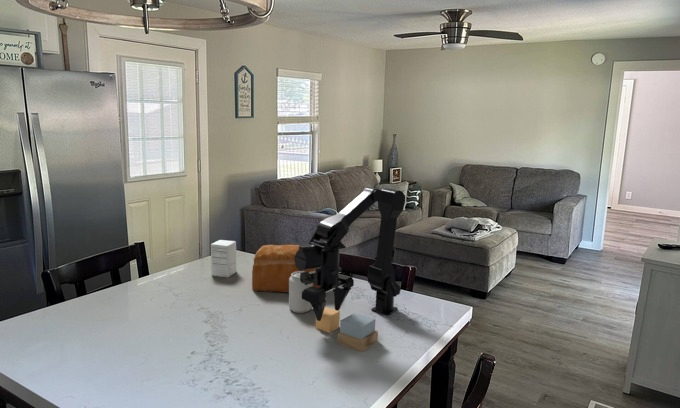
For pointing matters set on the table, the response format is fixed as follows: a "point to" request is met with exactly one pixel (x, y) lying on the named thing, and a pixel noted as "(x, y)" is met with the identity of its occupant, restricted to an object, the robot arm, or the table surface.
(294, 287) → the can
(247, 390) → the table surface
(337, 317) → the ochre cube
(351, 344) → the walnut base block
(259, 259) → the bread
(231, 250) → the supplement box
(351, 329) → the slate block
